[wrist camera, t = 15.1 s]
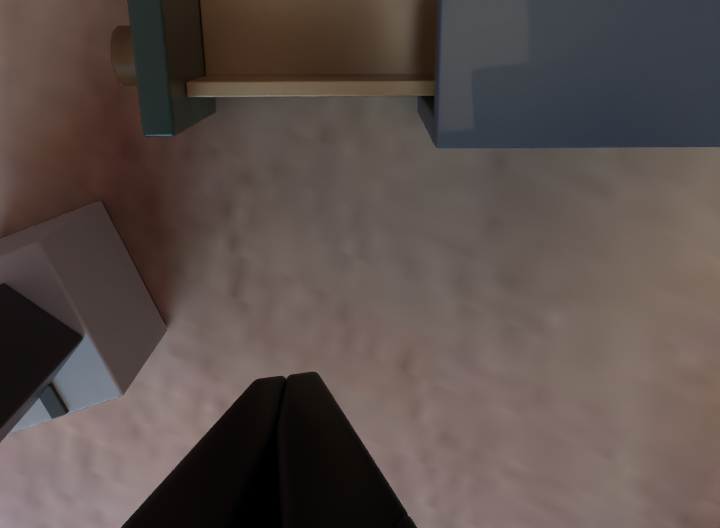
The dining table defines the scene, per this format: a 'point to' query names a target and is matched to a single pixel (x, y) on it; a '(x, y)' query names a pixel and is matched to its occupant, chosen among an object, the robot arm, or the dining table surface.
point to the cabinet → (575, 74)
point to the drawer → (269, 53)
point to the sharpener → (69, 318)
